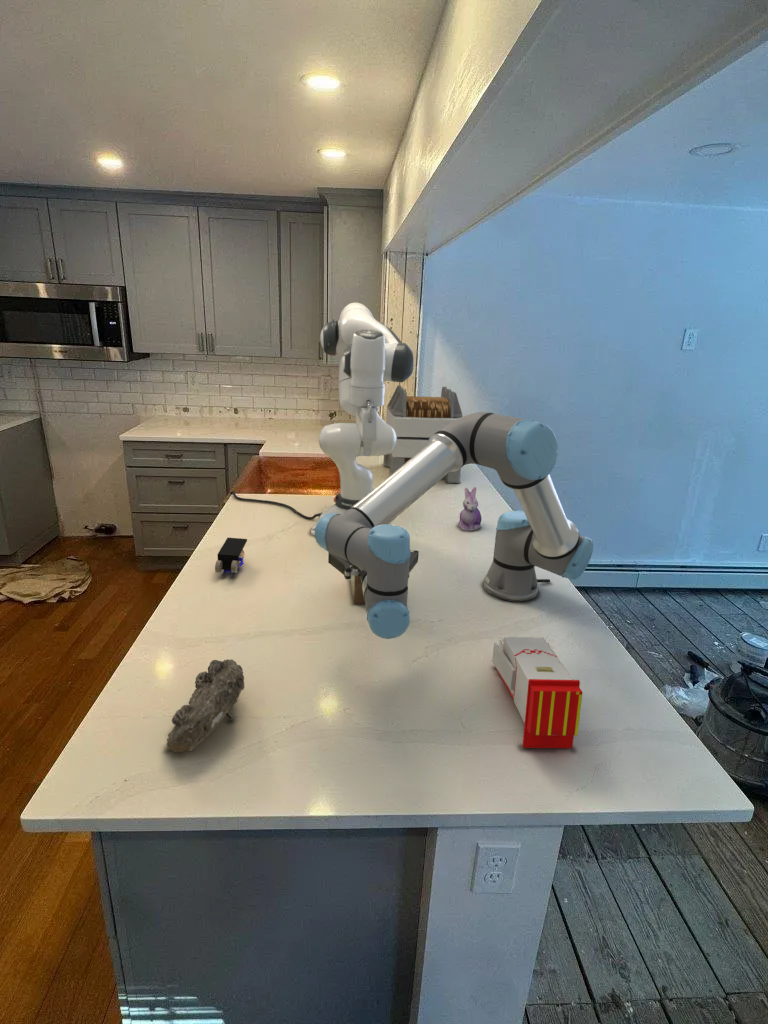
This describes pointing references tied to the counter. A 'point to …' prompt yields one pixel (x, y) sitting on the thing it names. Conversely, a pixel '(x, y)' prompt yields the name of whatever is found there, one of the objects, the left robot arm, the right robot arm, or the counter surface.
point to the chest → (357, 590)
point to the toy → (539, 691)
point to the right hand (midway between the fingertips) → (370, 543)
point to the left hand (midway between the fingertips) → (365, 450)
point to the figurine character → (230, 556)
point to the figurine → (470, 512)
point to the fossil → (206, 705)
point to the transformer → (419, 424)
